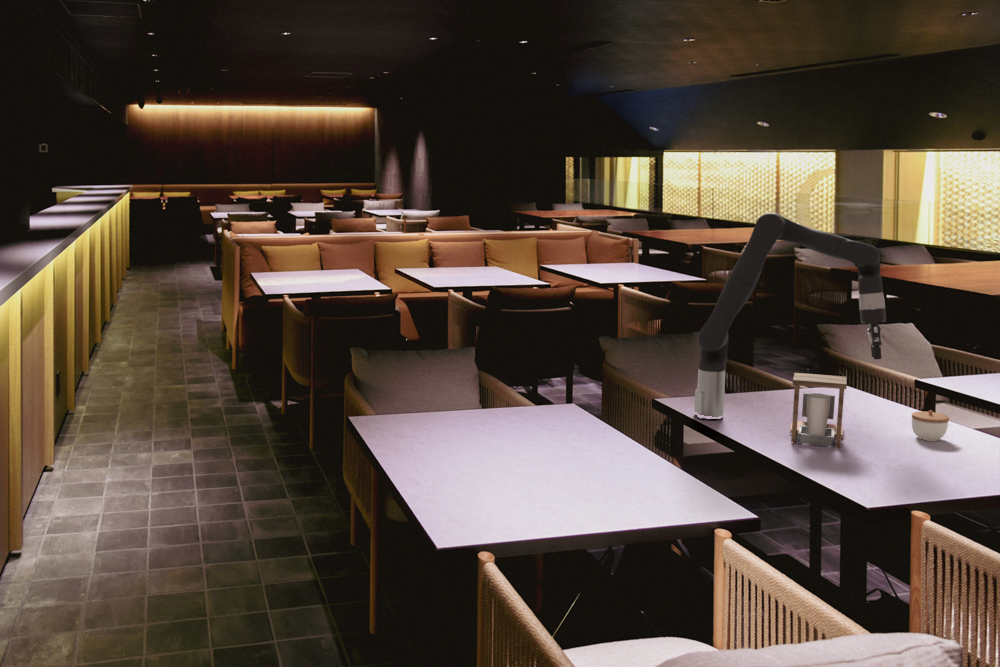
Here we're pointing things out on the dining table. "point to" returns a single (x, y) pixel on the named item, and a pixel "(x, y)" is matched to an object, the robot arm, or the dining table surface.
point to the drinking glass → (817, 413)
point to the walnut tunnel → (818, 381)
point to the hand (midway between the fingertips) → (876, 358)
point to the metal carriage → (817, 439)
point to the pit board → (826, 427)
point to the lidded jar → (929, 425)
